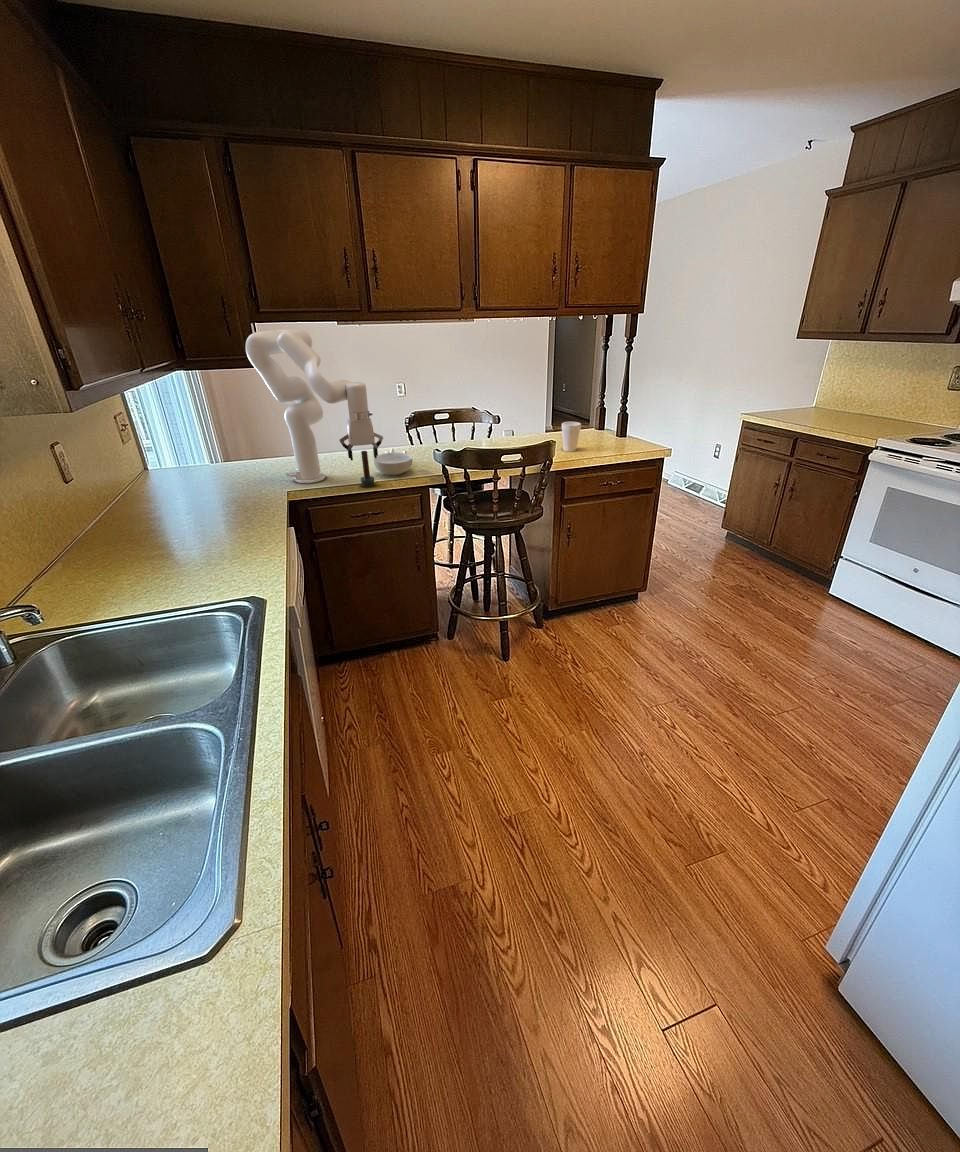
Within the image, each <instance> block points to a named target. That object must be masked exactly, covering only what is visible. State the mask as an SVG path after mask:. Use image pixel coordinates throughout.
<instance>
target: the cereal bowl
mask: <svg viewBox="0 0 960 1152" xmlns="http://www.w3.org/2000/svg"><path fill="white" fill-rule="evenodd" d="M373 465H374V468H375V469H376V470H377V471H379V472H380V473H382V474H385V475H387V476H400V475H402V474H403V473H406V472H408V471H409V470H410V469H411V468H412V466H413V456H412V455H411V454H408V453H407V454H406V453H403V452H395V453H385V452H384V453H381V454H378V456H377V458H375V457H374V456H373Z"/></svg>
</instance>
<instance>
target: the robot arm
mask: <svg viewBox="0 0 960 1152" xmlns="http://www.w3.org/2000/svg"><path fill="white" fill-rule="evenodd" d="M312 348H313V340H312V337H311V335H310V334H309V333H308V332H307V331H306V330H304V329H301V328H296V329H273V330H261V331H255V332H253V333H251V334H250V335H248V337H247V338H246V340H245V354H246V356H247V358H248V360H249V362H250V364H251V365H252V366H253V368H254V369H255V370H256V372H257V373H258V374H259V375H260V377H261V379H262V380H263V381H264V383H265V385H266V386H267V388H268V389H269V391H270V392H271V394H272V395H273V397H274V398H275V400H276V401H277V402H278V403H279V404H282V405H283V404H284V405H285V404H291V403H294V404H291V405H289V406H288V407H287V408H286V409H285V412H284V420H285V423H286V426H287V428H288V431H289V435H290V440H291V445H292V450H293V456H294V460H295V461H294V462H295V466H296V469H295V470H293V471H286V477H288V478H294V481H295V482H297V483H298V484H315V483H319V482H321V481H324V480H325V479H326V475H325V474H324V473H323V472H321V465H320V459H319V453H318V447H317V442H316V437H315V433H314V432H313V430H312V428H311V426H312V425H316V424H317V423H319V422H320V421H322V419H323V417H324V410H323V407H322V405H321V403H320V402H319V400H318V398H317V397H316V396H315V394H316V395H317V396H318V397H319V398H320V399H321V400H322V401H324V402H325V403H327V404H337V403H340V402H345V401H347V408H348V417H349V418H348V419H347V421H346V427H347V430H346V431H347V434H346V435H344V436H343V437H341V438H339V440H338V441H339V443H340V444H341V446H342V447H343V449H346V450H347V456H348V459H350V461H354V460H353V459H354V456H353V450H352V448H353V447H355V446H357V447H358V446H367V445H371V446H373V447H372V453H373V458H374V457H375V458H377V456H378V455H379V451H378V449H379V447H380V445H382V442H383V440H384V436H383V435H381V434H378V433H377V432H374V427H373V426H374V425H373V422H372V418H371V416H373V412H372V411H369V403H368V393H367V385H366V383H364V382H362V381H350V380H346V379H340V380H334V381H329V380H327V378H325V377H324V376H323V375H322V373H321V372H320V371H319V366H320V364H321V357H320V355H319V354H318V353H317V352H316V351H315V350H314V349H312ZM277 354H285V355H286V356H287V357H288V358H289V359H290V360H291V361H292V362H293V363H294V364H295V365H296V366H297V367H298V368H300V370H302V371H303V373H304V375H305V379H306V381H305V379H303V378H301V377H299V376H295V375H293V376H287V375H286V373H285V371H284V370H283V368H282V367H281V365H280V364H279V363H278V362H277V361H276V360H274V359H273V358H272V357H271V355H277ZM375 438H377V439H378V440H377V441H376V439H375ZM347 440H348V444H346V442H345V441H347ZM375 441H376V442H375Z"/></svg>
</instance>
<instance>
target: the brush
mask: <svg viewBox="0 0 960 1152" xmlns="http://www.w3.org/2000/svg"><path fill="white" fill-rule="evenodd" d="M360 456H361V462H362V463H361V464H362V471H363V476H362V477H360V483H361V487H362V488H366V489H368V488H373V487H375V477H374V476H371V474H370V465H369V456H368V451H367V450H361V451H360Z"/></svg>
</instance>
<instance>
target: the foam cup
mask: <svg viewBox="0 0 960 1152" xmlns="http://www.w3.org/2000/svg"><path fill="white" fill-rule="evenodd" d="M581 429H582V423H581V422H578V421H564V422H562V423H561V437H562V450H563V451H565V452H576V451H577V446H578V441H579V437H580V432H581Z"/></svg>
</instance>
